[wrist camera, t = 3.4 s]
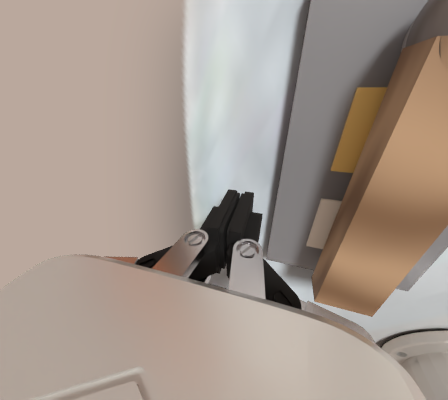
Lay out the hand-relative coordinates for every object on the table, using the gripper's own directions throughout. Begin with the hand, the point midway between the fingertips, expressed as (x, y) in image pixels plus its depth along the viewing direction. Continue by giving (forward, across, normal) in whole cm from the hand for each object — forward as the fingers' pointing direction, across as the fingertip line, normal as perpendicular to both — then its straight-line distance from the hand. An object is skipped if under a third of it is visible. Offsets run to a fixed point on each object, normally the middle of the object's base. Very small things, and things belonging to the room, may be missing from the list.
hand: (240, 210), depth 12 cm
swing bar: (+1, -8, -2) cm, 8 cm away
